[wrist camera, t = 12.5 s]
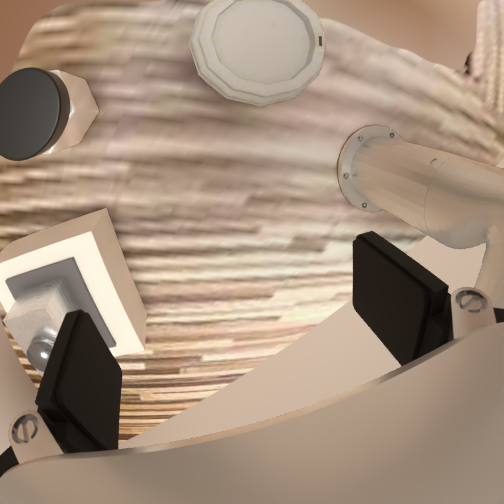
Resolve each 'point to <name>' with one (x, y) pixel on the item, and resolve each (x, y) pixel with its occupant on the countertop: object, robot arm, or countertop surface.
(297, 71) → the disposable coffee cup
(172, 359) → the countertop surface
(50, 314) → the housing
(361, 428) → the robot arm
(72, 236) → the stand
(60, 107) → the jar
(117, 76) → the countertop surface
